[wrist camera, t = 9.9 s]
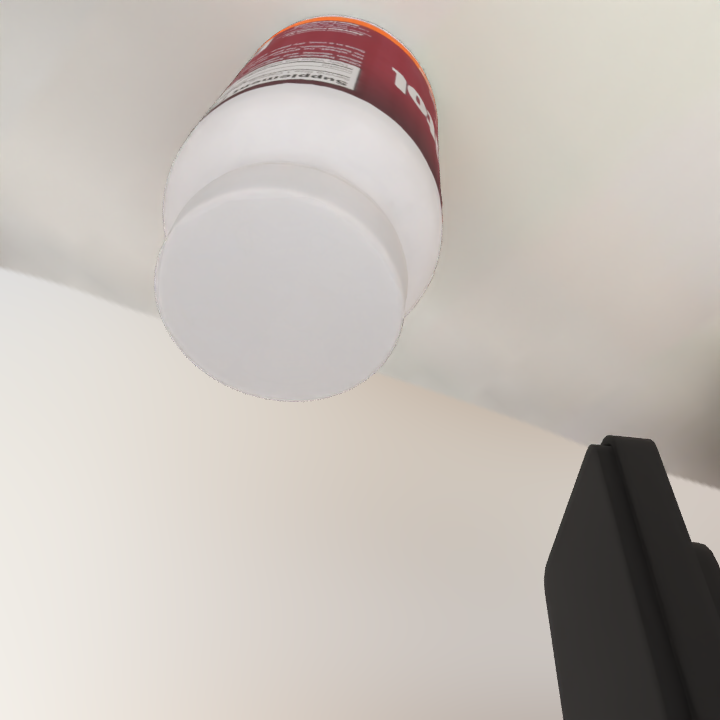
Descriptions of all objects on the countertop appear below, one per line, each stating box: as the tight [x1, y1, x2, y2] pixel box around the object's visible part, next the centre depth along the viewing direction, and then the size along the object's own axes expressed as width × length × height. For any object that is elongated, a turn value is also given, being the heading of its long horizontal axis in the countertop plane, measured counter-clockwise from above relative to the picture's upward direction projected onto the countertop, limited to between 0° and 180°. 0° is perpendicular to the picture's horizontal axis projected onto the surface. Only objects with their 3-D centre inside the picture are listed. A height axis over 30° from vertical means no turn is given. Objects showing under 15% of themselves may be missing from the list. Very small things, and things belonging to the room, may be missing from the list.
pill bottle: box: [154, 15, 443, 402], centre depth 17 cm, size 6×6×11 cm
